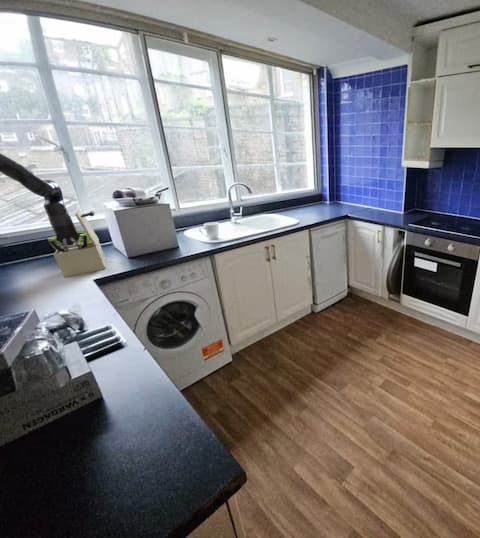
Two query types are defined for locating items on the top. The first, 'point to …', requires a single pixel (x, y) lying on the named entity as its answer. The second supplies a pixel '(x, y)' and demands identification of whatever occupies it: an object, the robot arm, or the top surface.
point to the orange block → (73, 249)
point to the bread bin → (81, 260)
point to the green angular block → (78, 239)
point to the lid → (87, 226)
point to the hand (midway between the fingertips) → (77, 257)
